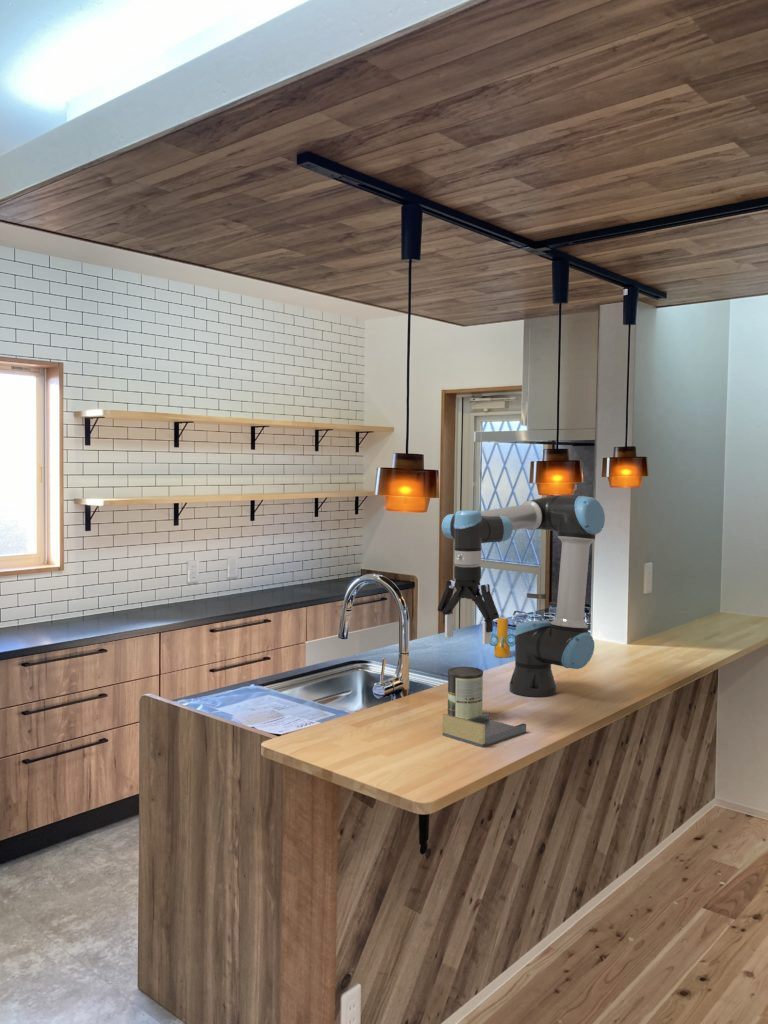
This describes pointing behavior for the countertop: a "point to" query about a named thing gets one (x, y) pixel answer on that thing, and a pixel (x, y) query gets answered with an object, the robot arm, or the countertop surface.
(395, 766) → the countertop surface
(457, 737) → the rail channel
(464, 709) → the coffee can
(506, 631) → the orange column with rings
